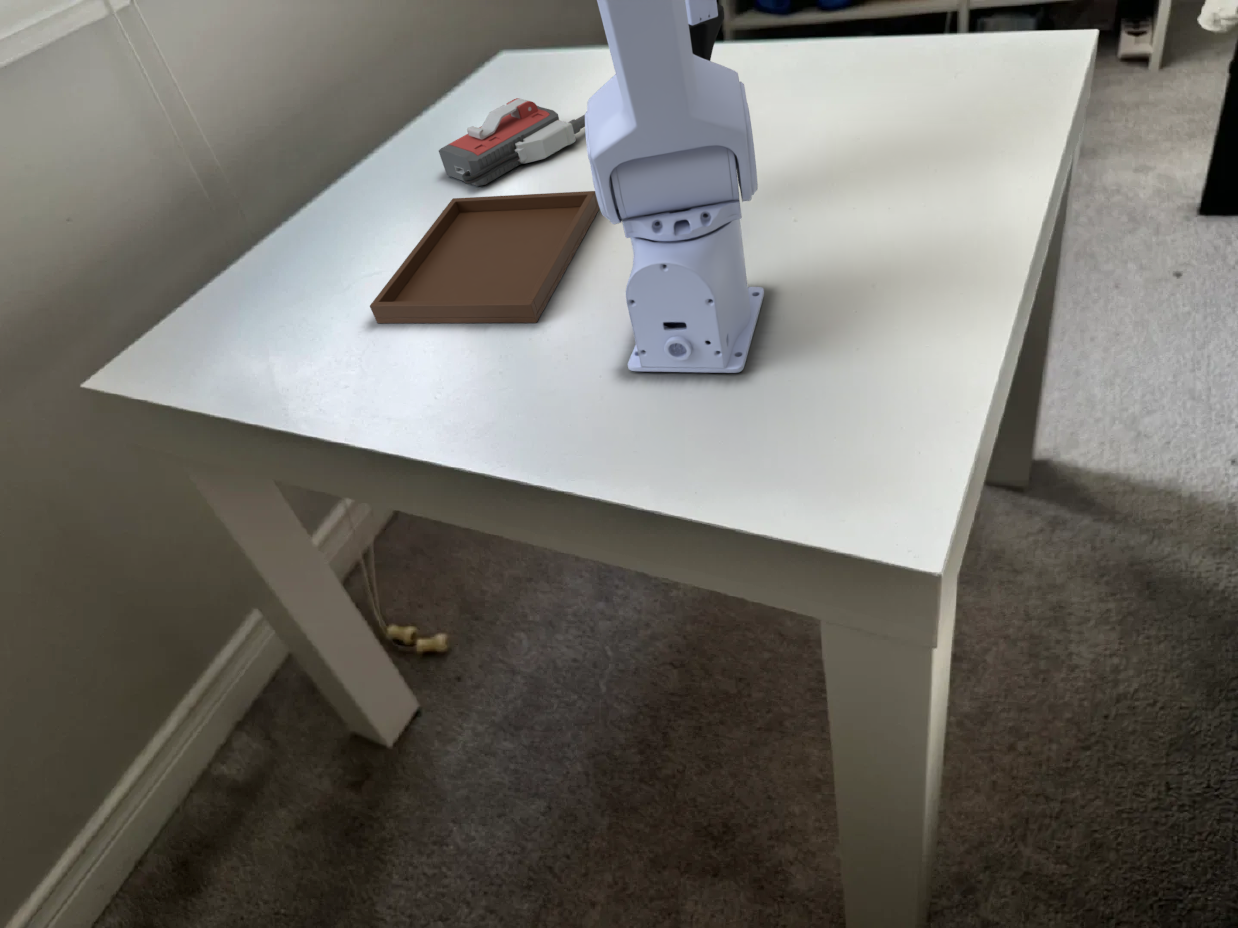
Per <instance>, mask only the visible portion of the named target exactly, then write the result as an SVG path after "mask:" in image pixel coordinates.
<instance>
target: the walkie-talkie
mask: <svg viewBox="0 0 1238 928" xmlns="http://www.w3.org/2000/svg"><path fill="white" fill-rule="evenodd" d="M584 128H585V114H583V115H581V116H579V117H578V118H576V119H575V118H574V119H571V120H569V121H568V122H567V121H564V120H561V119H560V117H559V114H558V112H556V111H555V110H553V109H550V108H547V107H542V106H539V105H537V104H536V103H535V102H534V101H531V100H527V99H524V98H520V97H519V98H518V97H516V98H513V99H512V100H510V101H508V102H507V103H506V104H502V105H501V106H498V107H497V108H495V109H493V110H491V111H490V112H488V114H487V116H486V118H485V120H484V121H483V123H482V125H481V126H479V127H477V126H474V125H472V126H469V127H467V128H466V132H467V133H466V134H465V135H462V136H461V137H459V138H457V139H455V140H453V141H452V142H449V143H448V144H446V145H445V146H443V147H441V148H439V150H438V153H439V157H440V159H441V163H442V165H443V168H444V171H445V173H446V176H448V177H450V178H451V177H452V178H453V179H457V180H460V181H462V182H463V183H465V185H473V186H475V187H480V186H481V187H482V186H486V185H488V184H489V183H491V182H493V181H494V180H496V179H498V178H500V177H501V176H503V175H505V174H507V173H509V172H510V171H511V170H513V169H515V168H517V167H519V166H520V165H522V164H528V163H533V162H537V161H540V160H544V159H546V158H548V157H550V156H552V155H553V154H555V153H557V152H558V151H560V150H562V149H563V148H565V147H567V146H570V145H573V144H574V143H575V142H576V140H577V139H576V136H575V135H576V134H578V133H579V132H581V129H584Z"/></svg>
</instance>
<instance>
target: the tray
mask: <svg viewBox="0 0 1238 928" xmlns="http://www.w3.org/2000/svg"><path fill="white" fill-rule="evenodd" d="M599 210H600V208H599V204H598V201H597V197H596V193H595V190H587V191H586V190H585V191H568V192H566V191H565V192H547V193H528V194H510V195H493V196H471V197H454V198H452V199H451V200H450V202H448V203H447V205H446V206H445V207H444V209H443V210H442V211H441V212H440V214H439V216H437V218H436V219H435V220H434V222H433V223H432V224H431V226H430V227H429V228H428V230H427V231H426V232H425V233H424V235H423V236H422V238H421V239H420V240H419V242H417V244H416V245H415V246H414V248H413V249H412V250H411V252H410V253H409V254H408V255H407V257H405V259H404V260H403V262H402V263H401V264H400V266H399V268H397V270H396V271H395V273H394V274H393V275H392V276H391V278H390V279H389V280H388V282H387V283H386V284H385V285H384V286H383V287H382V289H381V290H380V292H379V293H378V294H377V295H376V297H375V298H374V300H373V301H372V302H371V303H370V305H369V308H370V311H371V312H372V314H373V317H374V319H375V321H376V323H377V324H529V323H530V324H536V323H538V321H539V319H540V318H541V316H542V314H543V312H544V310H545V308H546V306H547V305H548V303H549V301H550V299H551V298H552V296H553V294H554V293H555V290H556V288H557V286H558V285H559V283H560V281H561V279H562V277H564V276H563V275H564V274H565V272H566V270H567V268H568V266H569V265H570V263H571V261H572V259H573V257H574V256H575V254H576V253H577V250H578V248H579V247H580V245H581V243H582V241H583V239H584V237H585V235H586V234H587V232H588V230H589V229H590V226H591V225H592V223H593V222H594V219H595V218H596V215H597V214H598V212H599Z"/></svg>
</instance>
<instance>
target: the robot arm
mask: <svg viewBox="0 0 1238 928" xmlns="http://www.w3.org/2000/svg"><path fill="white" fill-rule="evenodd" d="M596 2H597V6H598V11H599V13H600V17H601V21H602V25H603V29H604V33H605V38H606V42H607V45H608V49H609V53H610V57H611V61H612V65H613V69H614V72H615V73H614V75H613V76H612V77H610V78H609V79H608V80H607V81H606V82H605V83H604V84H603V85H602V86H600V87H599V89H597V90H596V91H595V92H594V93H593V94H592V95H591V96H590V97H589V99H588V100H587V102H586V104H587V105H586V111H585V113H584V115H585V127H584V132H585V144H586V152H587V158H588V162H589V165H590V172H591V178H592V183H593V188H594V191H595V193H596V197H597V201H598V204H599V210H600V212H601V216H603V217H604V218H605V219H607V220H608V221H609V223H610V224H612V225H616V224H621V223H622V228H623V231H624V235H625V238H626V239H630V242H631V247H632V248H631V249H632V252H633V258H632V268H631V270H630V274H629V277H628V280H627V283H626V287H625V301H626V307H627V310H628V315H629V319H630V324H631V328H632V332H633V333H632V334H633V338H634V341H635V345H634V347H633V350H632V353H631V355H630V356H629V359H628V362H627V367H628V368H627V369H628V370H629V371H631V372H653V373H654V372H656V373H658V372H661V373H715V374H716V373H720V374H721V373H722V374H723V373H724V374H738V373H740V372H741V373H742V371H743V370H744V368H745V365H746V361H747V358H748V354H749V350H750V347H751V343H752V340H753V336H754V331H755V330H756V325H757V322H758V319H759V315H760V311H761V308H762V303H763V301H764V297H765V289H764V287H761V286H749V285H748V277H747V269H746V259H745V252H744V244H743V235H742V225H741V219H742V217H743V216H742V211H741V210H742V209H741V202H742V203H743V202H750V201H752V199H753V196H754V195H755V194H756V192H757V191H758V187H759V186H758V185H759V184H758V172H757V170H758V169H757V161H756V151H755V144H754V136H753V128H752V120H751V115H750V109H749V104H748V100H747V99H748V98H747V93H746V87H745V83H744V82H742V81H740V77H739V73H738V71H736V70H734V69H732V68H730V67H727V66H725V65H722V64H719V63H716V62H714V61H712V55H713V49H714V48H715V47H714V46H715V42H716V40H717V36H718V34H719V32H720V29H721V27H722V24H723V22H724V20H725V9H724V6H723V5H721V4H719V3H718V2H717V0H596ZM740 197H741V199H740Z"/></svg>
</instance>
